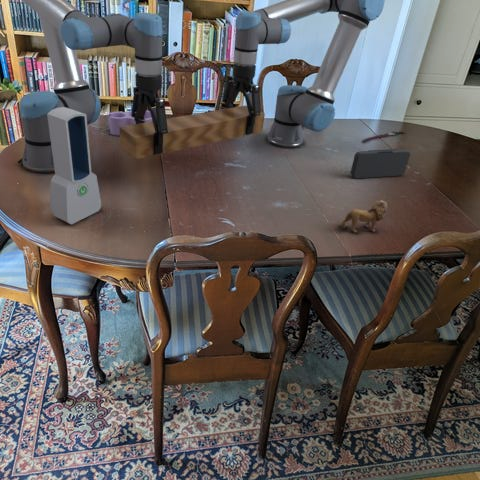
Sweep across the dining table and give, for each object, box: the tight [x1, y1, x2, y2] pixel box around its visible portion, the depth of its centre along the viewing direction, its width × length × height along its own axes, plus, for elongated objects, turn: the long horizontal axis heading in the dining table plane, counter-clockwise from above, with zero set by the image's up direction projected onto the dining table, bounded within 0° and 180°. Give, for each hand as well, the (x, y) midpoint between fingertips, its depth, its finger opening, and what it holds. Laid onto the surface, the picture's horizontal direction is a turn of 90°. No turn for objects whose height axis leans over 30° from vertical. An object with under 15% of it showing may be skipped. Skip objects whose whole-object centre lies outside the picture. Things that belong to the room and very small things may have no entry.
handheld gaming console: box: [350, 148, 411, 179], centre depth 174 cm, size 23×3×10 cm, turn 108°
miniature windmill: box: [214, 54, 232, 111], centre depth 200 cm, size 9×8×30 cm
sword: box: [363, 130, 404, 143], centre depth 215 cm, size 31×3×1 cm, turn 126°
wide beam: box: [119, 104, 266, 160], centre depth 154 cm, size 51×10×7 cm, turn 130°
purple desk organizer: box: [108, 109, 152, 136], centre depth 190 cm, size 20×12×7 cm, turn 109°
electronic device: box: [47, 107, 102, 225], centre depth 126 cm, size 12×8×30 cm, turn 148°
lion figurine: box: [339, 199, 388, 234], centre depth 139 cm, size 15×5×9 cm, turn 110°
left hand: (149, 147), depth 145 cm, fingers closed on wide beam, 10 cm apart
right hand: (239, 128), depth 166 cm, fingers closed on wide beam, 10 cm apart
